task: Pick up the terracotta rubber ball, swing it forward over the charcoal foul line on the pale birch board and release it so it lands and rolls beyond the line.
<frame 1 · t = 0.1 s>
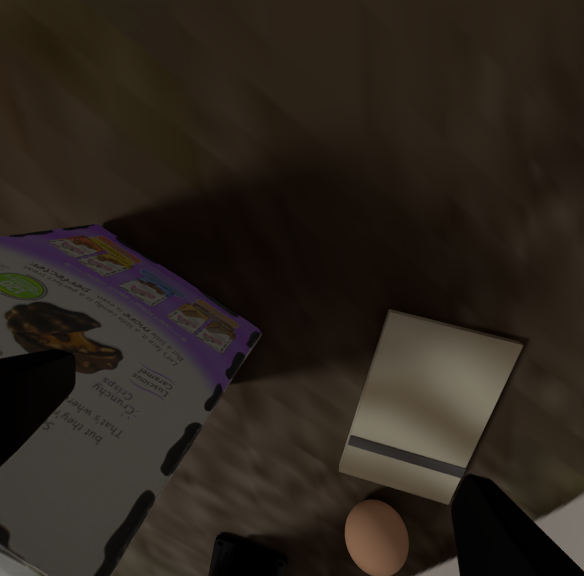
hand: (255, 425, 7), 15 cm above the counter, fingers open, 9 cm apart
board: (419, 409, 22), on the counter
ball: (373, 508, 25), on the counter
candy box: (168, 306, 24), on the counter
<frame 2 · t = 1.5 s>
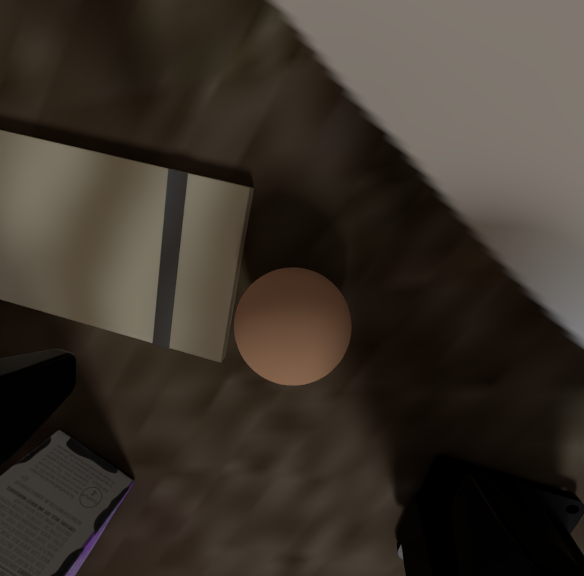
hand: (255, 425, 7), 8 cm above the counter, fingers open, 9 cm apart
board: (106, 245, 15), on the counter
ball: (300, 306, 15), on the counter
candy box: (64, 514, 22), on the counter
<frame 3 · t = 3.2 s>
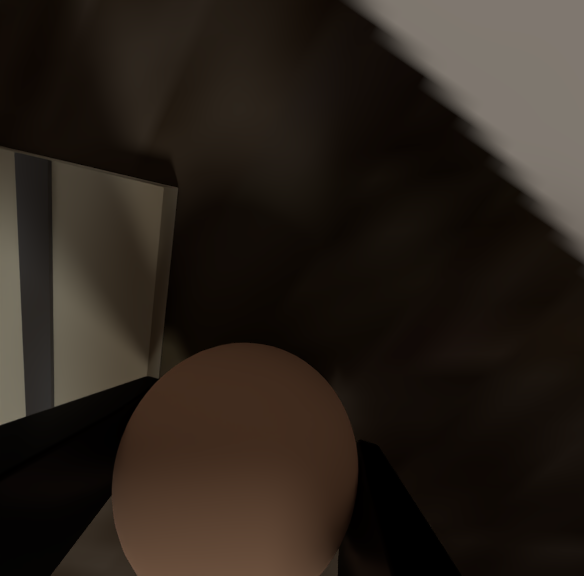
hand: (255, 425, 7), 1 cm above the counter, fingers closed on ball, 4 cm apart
ball: (268, 392, 8), on the counter, touching gripper
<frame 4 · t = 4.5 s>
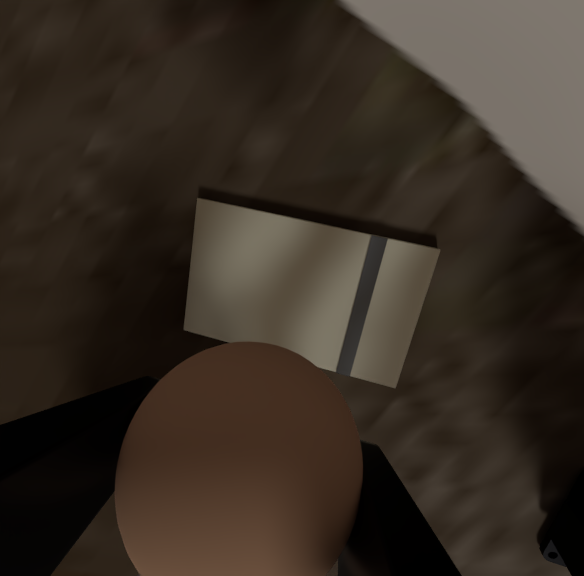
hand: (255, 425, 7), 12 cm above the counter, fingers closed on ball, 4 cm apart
board: (299, 291, 19), on the counter
ball: (271, 392, 8), point 11 cm above the counter, touching gripper
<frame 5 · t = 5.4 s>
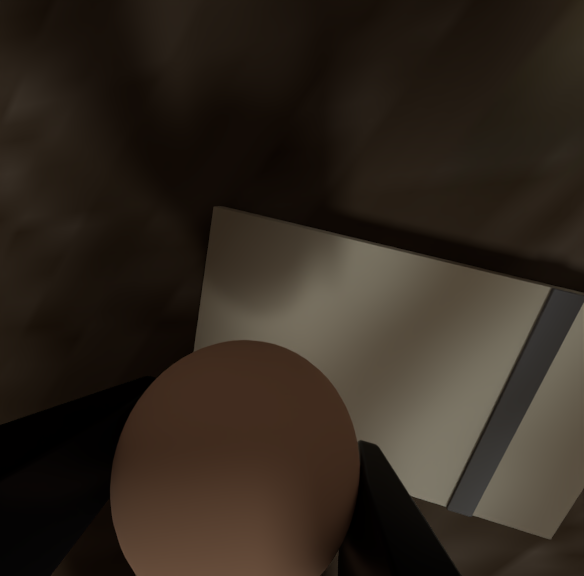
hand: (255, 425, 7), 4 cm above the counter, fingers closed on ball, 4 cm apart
board: (389, 372, 11), on the counter
ball: (268, 390, 8), point 3 cm above the counter, touching gripper
when the fingers open (4 cm above the counter, at t = 6.0 s): ball drops 2 cm, resting on board.
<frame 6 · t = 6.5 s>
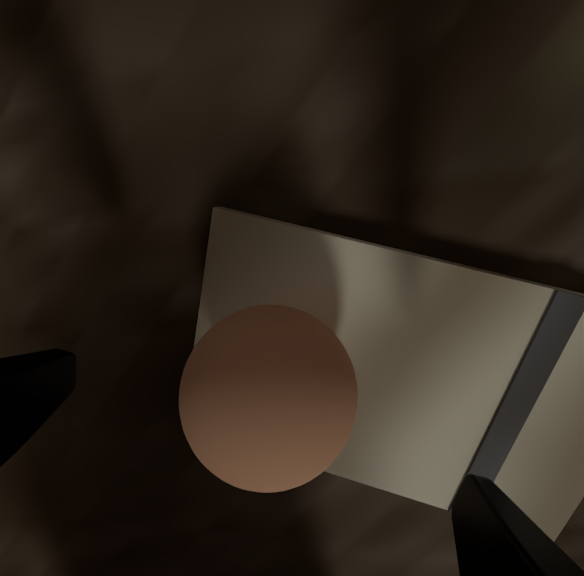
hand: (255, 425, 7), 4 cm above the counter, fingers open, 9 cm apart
board: (390, 374, 11), on the counter
ball: (285, 351, 10), point 1 cm above the counter, touching board
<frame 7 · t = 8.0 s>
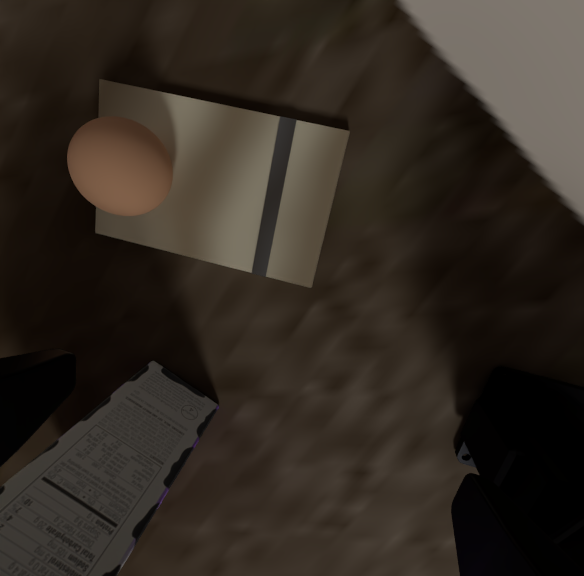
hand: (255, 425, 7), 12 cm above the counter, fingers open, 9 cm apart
board: (213, 187, 18), on the counter
ball: (148, 171, 18), point 1 cm above the counter, touching board
candy box: (147, 443, 24), on the counter
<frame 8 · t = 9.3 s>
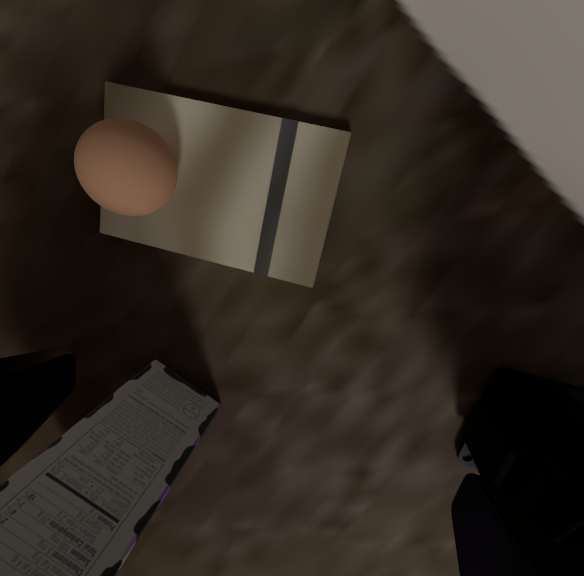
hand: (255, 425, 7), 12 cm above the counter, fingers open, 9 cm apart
board: (216, 188, 18), on the counter
ball: (152, 171, 18), point 1 cm above the counter, touching board
candy box: (149, 442, 24), on the counter
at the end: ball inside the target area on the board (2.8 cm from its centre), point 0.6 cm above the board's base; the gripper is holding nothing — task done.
